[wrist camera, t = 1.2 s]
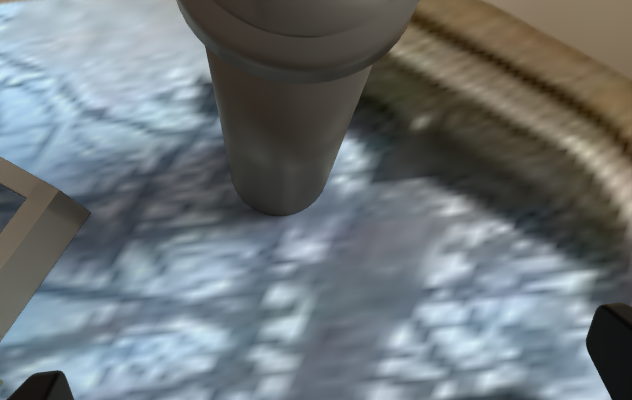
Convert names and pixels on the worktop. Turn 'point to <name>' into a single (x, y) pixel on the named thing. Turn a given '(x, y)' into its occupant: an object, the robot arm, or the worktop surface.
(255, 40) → the grey domed pawn
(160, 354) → the worktop surface
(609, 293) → the worktop surface
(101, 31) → the worktop surface
